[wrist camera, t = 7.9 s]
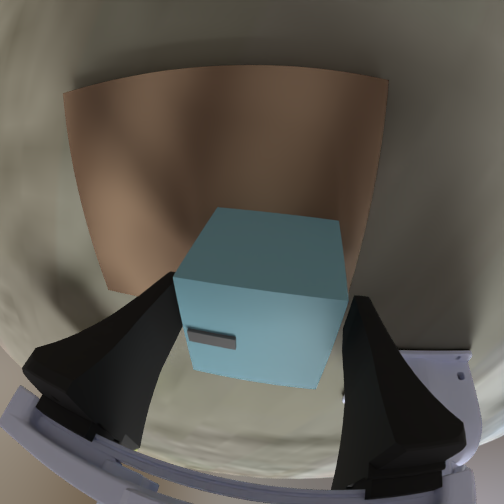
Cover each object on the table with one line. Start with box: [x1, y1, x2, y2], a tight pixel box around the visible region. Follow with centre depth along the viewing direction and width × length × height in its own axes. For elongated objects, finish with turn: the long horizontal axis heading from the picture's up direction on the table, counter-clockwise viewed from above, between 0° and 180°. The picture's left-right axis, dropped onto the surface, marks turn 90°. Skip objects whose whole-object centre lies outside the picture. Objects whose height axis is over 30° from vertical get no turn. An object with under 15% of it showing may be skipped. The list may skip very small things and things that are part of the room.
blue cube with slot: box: [173, 207, 349, 389], centre depth 12 cm, size 5×5×5 cm
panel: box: [63, 65, 389, 296], centre depth 14 cm, size 15×13×1 cm
